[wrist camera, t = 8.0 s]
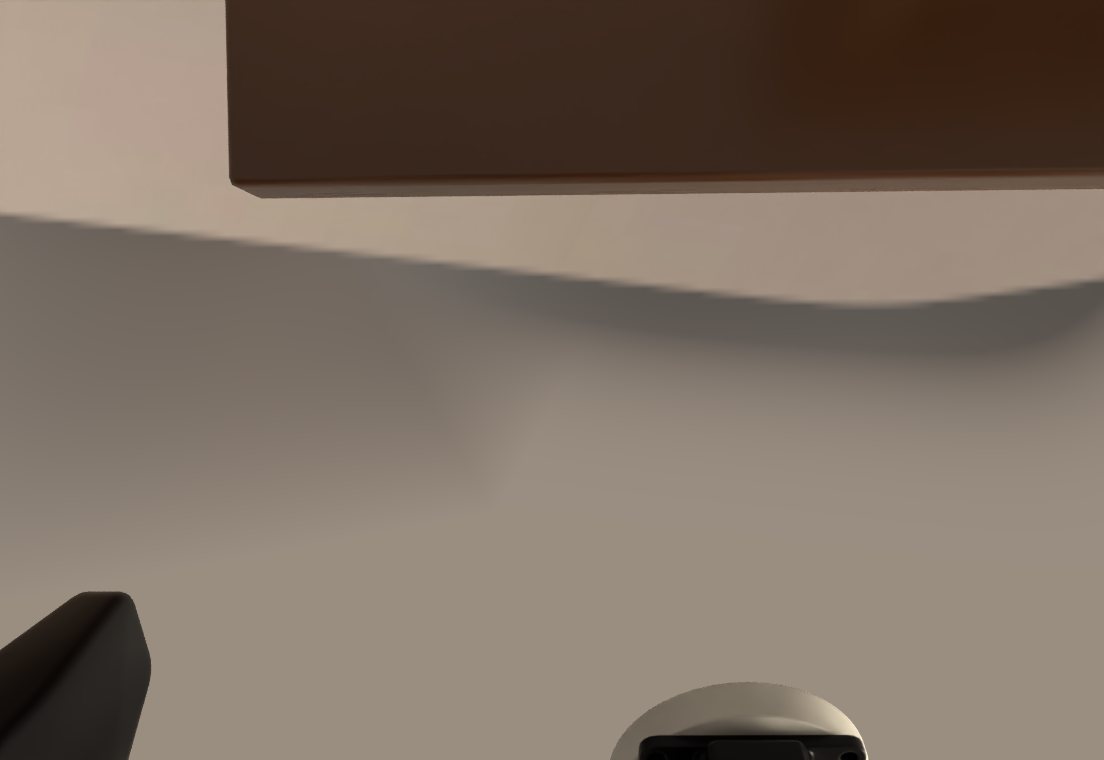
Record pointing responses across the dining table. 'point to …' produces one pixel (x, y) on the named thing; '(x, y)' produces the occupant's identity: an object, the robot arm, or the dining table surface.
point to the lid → (662, 96)
